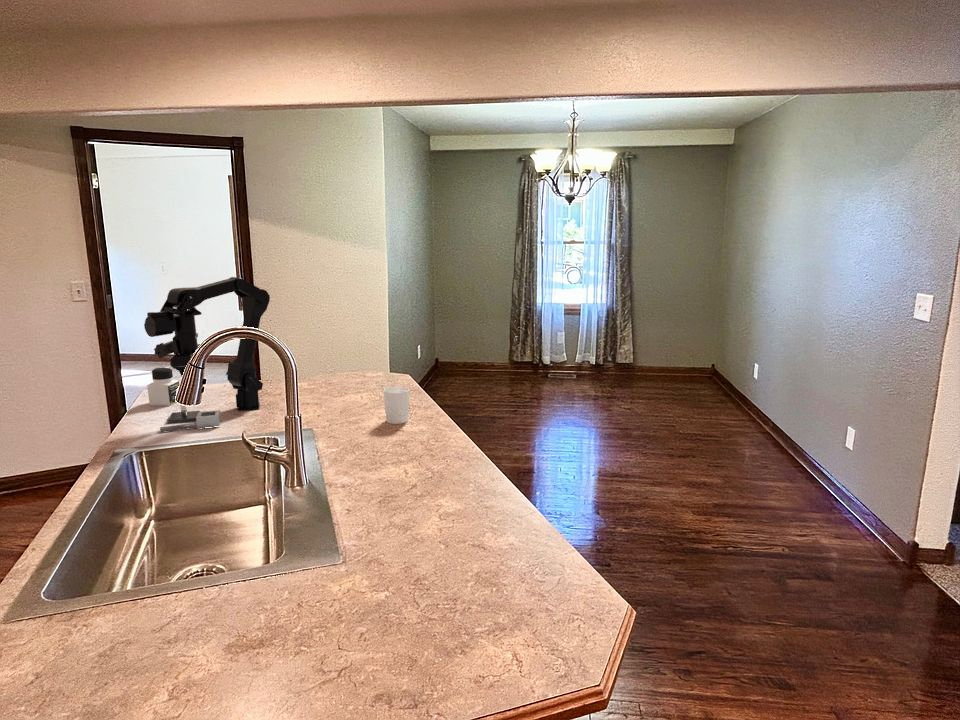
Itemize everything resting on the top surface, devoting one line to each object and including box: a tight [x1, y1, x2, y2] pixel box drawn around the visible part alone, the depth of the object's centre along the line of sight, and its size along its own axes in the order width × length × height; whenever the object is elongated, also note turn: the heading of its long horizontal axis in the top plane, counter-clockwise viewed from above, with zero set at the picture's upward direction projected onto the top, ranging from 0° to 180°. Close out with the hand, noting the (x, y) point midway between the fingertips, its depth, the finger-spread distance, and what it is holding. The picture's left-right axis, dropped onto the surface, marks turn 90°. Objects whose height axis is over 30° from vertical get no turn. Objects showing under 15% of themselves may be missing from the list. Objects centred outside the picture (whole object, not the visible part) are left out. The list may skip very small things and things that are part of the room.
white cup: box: [383, 385, 410, 425], centre depth 185 cm, size 8×8×10 cm
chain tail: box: [159, 422, 195, 433], centre depth 176 cm, size 9×2×1 cm, turn 116°
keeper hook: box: [167, 405, 201, 424], centre depth 186 cm, size 8×8×5 cm
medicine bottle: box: [146, 366, 180, 407], centre depth 202 cm, size 7×7×12 cm
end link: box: [195, 409, 222, 429], centre depth 180 cm, size 6×6×4 cm
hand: (191, 383), depth 180 cm, fingers open, 9 cm apart
